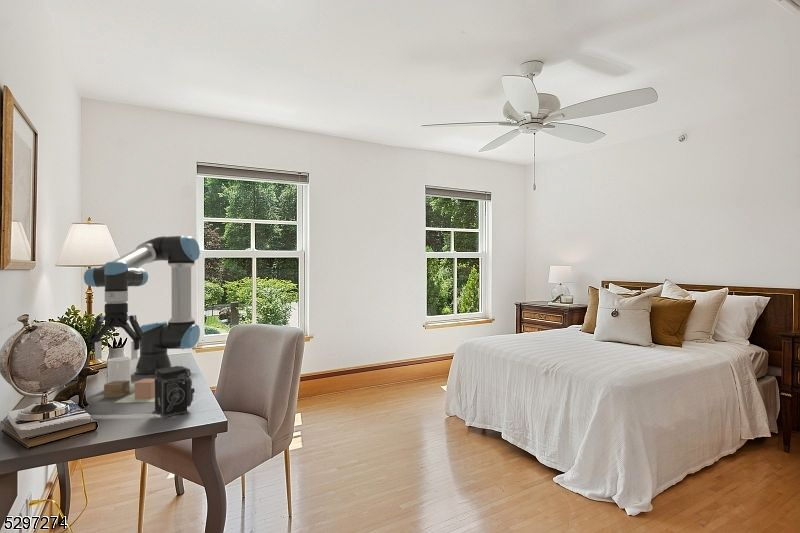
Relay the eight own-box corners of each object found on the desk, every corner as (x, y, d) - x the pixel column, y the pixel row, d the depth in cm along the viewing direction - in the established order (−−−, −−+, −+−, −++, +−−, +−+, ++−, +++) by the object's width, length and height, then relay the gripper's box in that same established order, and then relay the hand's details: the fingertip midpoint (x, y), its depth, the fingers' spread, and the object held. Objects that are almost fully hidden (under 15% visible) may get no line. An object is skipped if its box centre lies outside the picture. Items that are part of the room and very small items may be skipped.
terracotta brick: (143, 394, 172) (143, 378, 172) (159, 394, 172) (159, 378, 173) (134, 399, 166) (134, 382, 166) (151, 398, 166) (151, 382, 167)
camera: (197, 412, 154) (196, 368, 154) (163, 420, 146) (163, 373, 146) (185, 406, 161) (185, 363, 161) (153, 412, 154) (152, 368, 154)
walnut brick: (114, 396, 175) (114, 380, 175) (129, 396, 175) (129, 380, 175) (104, 400, 169) (104, 384, 169) (120, 400, 169) (120, 384, 169)
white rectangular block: (127, 391, 182) (127, 361, 182) (102, 393, 179) (102, 363, 179) (133, 384, 193) (133, 356, 193) (110, 386, 190) (109, 357, 190)
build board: (136, 395, 176) (136, 391, 176) (178, 394, 177) (177, 391, 177) (114, 405, 162) (114, 402, 162) (159, 405, 163) (159, 401, 163)
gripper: (76, 303, 169) (76, 361, 168) (143, 302, 169) (144, 360, 168) (89, 302, 176) (89, 357, 176) (154, 301, 176) (154, 356, 176)
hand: (116, 359), depth 172 cm, fingers open, 13 cm apart
